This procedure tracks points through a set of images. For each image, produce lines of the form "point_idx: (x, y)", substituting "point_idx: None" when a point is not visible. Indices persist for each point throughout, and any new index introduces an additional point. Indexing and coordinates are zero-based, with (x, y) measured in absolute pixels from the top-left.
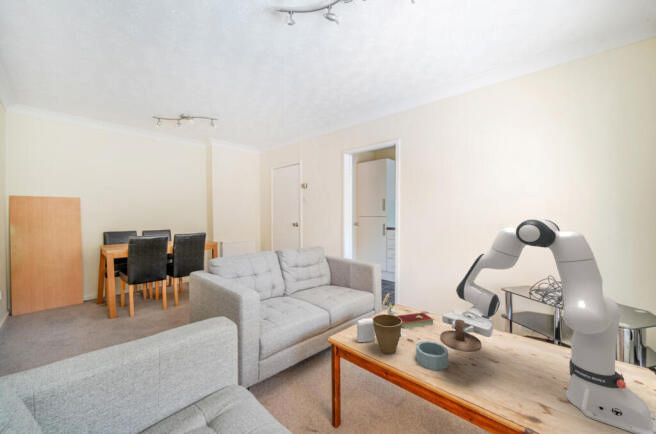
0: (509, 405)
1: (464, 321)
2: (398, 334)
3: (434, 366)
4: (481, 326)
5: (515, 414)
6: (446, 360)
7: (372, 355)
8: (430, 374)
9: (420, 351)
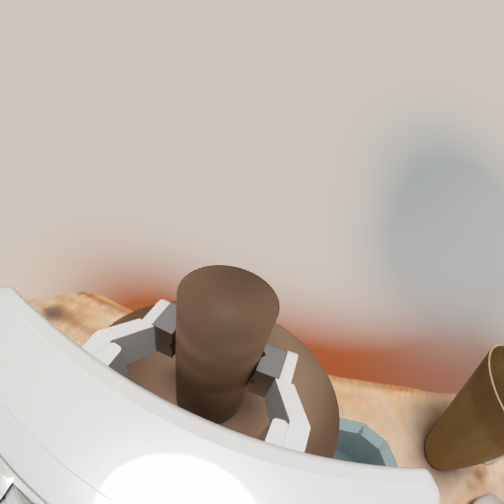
0: (81, 342)
1: (164, 414)
2: (463, 411)
3: None
4: (21, 313)
5: (83, 318)
6: None
7: (445, 400)
8: None
9: (366, 430)
